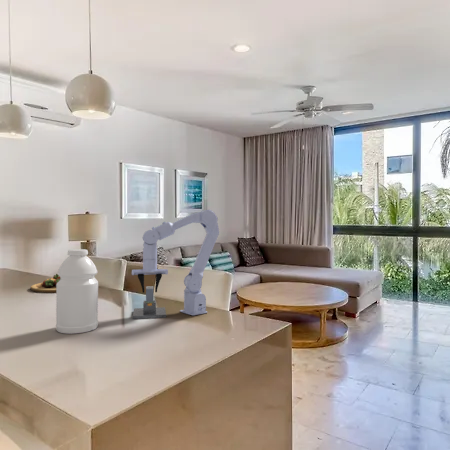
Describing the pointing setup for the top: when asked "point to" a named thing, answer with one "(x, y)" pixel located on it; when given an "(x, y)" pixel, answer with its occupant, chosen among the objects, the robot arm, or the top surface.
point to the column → (149, 294)
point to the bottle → (77, 294)
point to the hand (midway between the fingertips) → (149, 292)
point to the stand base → (149, 311)
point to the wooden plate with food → (46, 285)
